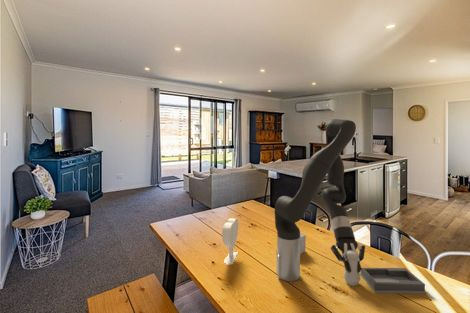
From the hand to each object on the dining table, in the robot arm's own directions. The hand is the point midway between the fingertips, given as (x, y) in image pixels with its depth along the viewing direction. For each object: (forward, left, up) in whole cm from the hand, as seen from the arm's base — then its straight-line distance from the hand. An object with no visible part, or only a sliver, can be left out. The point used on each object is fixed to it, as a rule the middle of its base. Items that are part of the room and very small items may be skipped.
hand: (354, 271), depth 94 cm
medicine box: (-16, +27, -6) cm, 32 cm away
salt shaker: (0, +2, -6) cm, 6 cm away
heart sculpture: (-49, +22, -6) cm, 54 cm away
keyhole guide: (+15, +2, -6) cm, 16 cm away
